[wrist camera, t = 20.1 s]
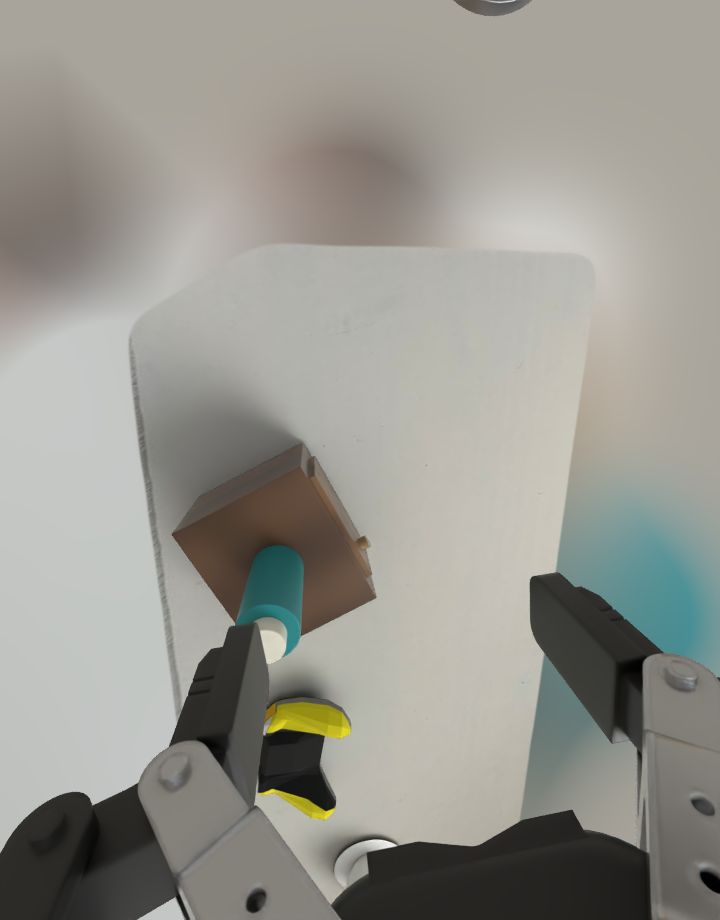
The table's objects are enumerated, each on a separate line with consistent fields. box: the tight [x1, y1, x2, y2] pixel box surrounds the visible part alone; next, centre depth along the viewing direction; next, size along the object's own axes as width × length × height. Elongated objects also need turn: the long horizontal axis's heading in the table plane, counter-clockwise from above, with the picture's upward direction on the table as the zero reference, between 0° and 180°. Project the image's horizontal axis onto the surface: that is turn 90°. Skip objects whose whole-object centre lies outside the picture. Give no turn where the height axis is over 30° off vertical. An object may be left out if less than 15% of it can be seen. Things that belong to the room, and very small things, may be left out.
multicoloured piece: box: [256, 697, 351, 820], centre depth 50 cm, size 15×6×10 cm
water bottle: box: [235, 545, 304, 664], centre depth 32 cm, size 4×4×10 cm
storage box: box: [172, 443, 377, 636], centre depth 41 cm, size 14×13×9 cm
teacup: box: [334, 840, 397, 888], centre depth 58 cm, size 10×10×5 cm
